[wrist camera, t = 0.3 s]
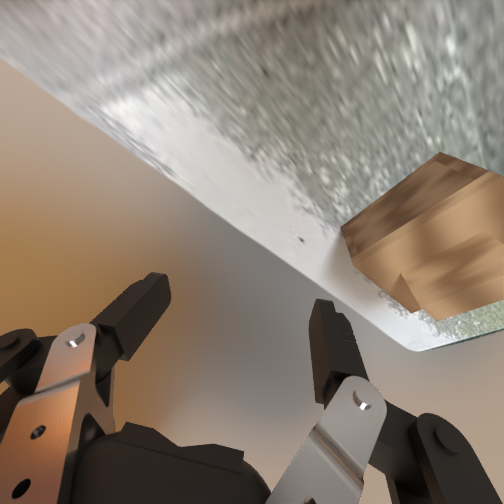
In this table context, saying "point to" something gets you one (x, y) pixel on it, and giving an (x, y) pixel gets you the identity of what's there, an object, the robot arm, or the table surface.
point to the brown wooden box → (409, 200)
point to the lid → (445, 253)
